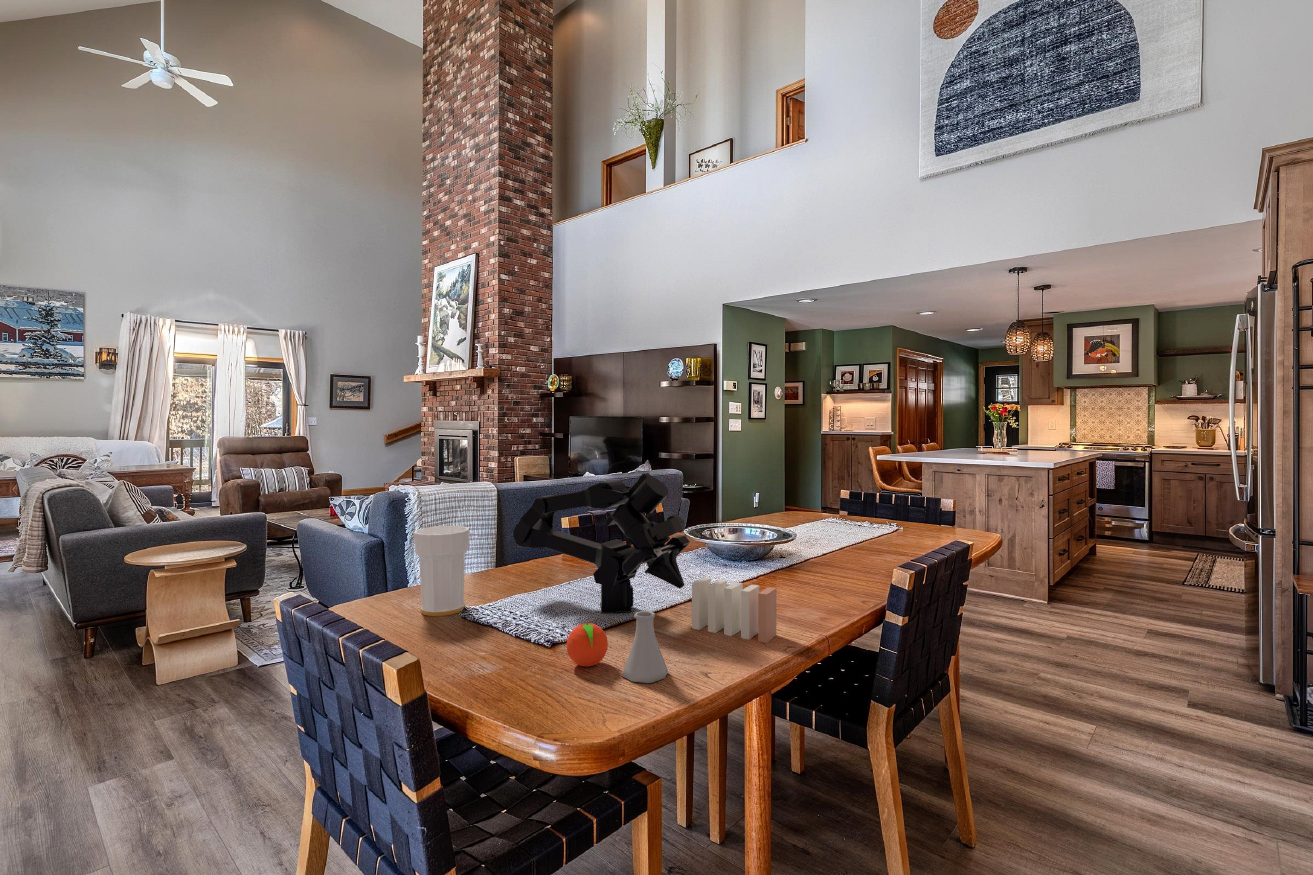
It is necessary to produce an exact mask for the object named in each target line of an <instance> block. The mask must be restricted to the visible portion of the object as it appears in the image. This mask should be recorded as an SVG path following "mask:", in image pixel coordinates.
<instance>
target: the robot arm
mask: <svg viewBox="0 0 1313 875" xmlns="http://www.w3.org/2000/svg"><path fill="white" fill-rule="evenodd" d="M668 496H669V489H668V487H667V485H666V484H665V483H664V482H662V481H661V480H659V479H658V478H656V477H654V476H652V475H651V474H650V473H649V472H645V473H642V474H641V475H640V476H639V477H638V479H637V481H636V482H635V483H634V484H633V486H630V485H626V484H625V483H624V482H623V480H621V479H611V480H606V481H605V480H604V481H599V482H596V483H594V484H592V485H589V486H587V487H586V488H584V489H582V490H577V491H573V492H572V491H571V492H566V493H561V494H555V495H552V494H550V495H543V496H539V497H538V496H537V498H535V500H534V501H533V503H532V505H531V507H530V508H529V509H528V510H527V511H525V513H524V514H523V515H522V516H521V518H520V520H519V521H518V523H517V524H516V525H515V527H514V529H513V540H514V541H515V544H516V546H517V547H520V548H525V549H548V550H551V551H553V552H557V553H561V554H564V555H566V556H570V557H573V558H575V559H579V560H581V561H584V562H587V563H591V564H593V565H595V566H596V567H597V569H595V571H594V572H593V573H592V574H593V575H592V576H593V579H594V582H595V584H597V585H600V602H599V607H600V612H601V614H614V613H631V612H633V608H634V586H633V585H632V584H631V580H632V579H634V578H635V577H636V575H637V572H638V570H639V569H640V568H641V566H642V565H644V564H645V563H646V566H647V568H646V570H645V571H644V573H645V574H646V575H647V574H649V575H650V576H653V577H656V578H658V579H660V580H662V581H664V582H665V583H668V584H670V585H672V586H674V587H676V588H678V589H682V588H684V587H685V582H684V579H683V576H682V574H681V570H680V568H679V566H678V562H677V557H678V556H679V555H680V554H682V552H683V551H684V550H685V549H686V548H687V547H688V546H689V545H690V544H691V541H690V540H689V538H688V537H687V536H686V535H684V534H681V533H683V532H684V524H685V520H684V519H682V518H681V516H679V515H678V514H677V513H674V514H671V515H669V516H667V517H666V520H664V521H661V522H660V523H657V522H656V521H649V520H648V518H647V517H646V516H645V515H644V514H647V515H648V514H652V513H653V512H654V511H655V510H656V508H658V506H659V505H660V504H661V503H662V502H663V501H664V500H665V499H666V498H667V497H668ZM582 507H585V508H590V509H601V510H602V509H604V510H605V509H608V508H612V507H616V508H615V509H614V510H613V511H611V512H610V511H609V512H606V521H605V526H607V527H608V526H613V525H617V526H618V528H619V529H620V530H621V532H622V533H623V535H624V536H625V537H626V538H627V540H626V541H623V540H621V539H618V538H615V539H612V540H609V541H605V542H601V543H599V542H596V541H592V540H589V539H586V538H582V537H579V536H576V535H572V534H569V533H567V532H566V533H565V532H562V531H559V530H557V529H556V528H555V527H554V523H555V518H556V513H557V511H563V510H569V509H576V508H582ZM678 533H679V535H676V534H678ZM673 535H676V536H673ZM671 536H672V537H671Z"/></svg>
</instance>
